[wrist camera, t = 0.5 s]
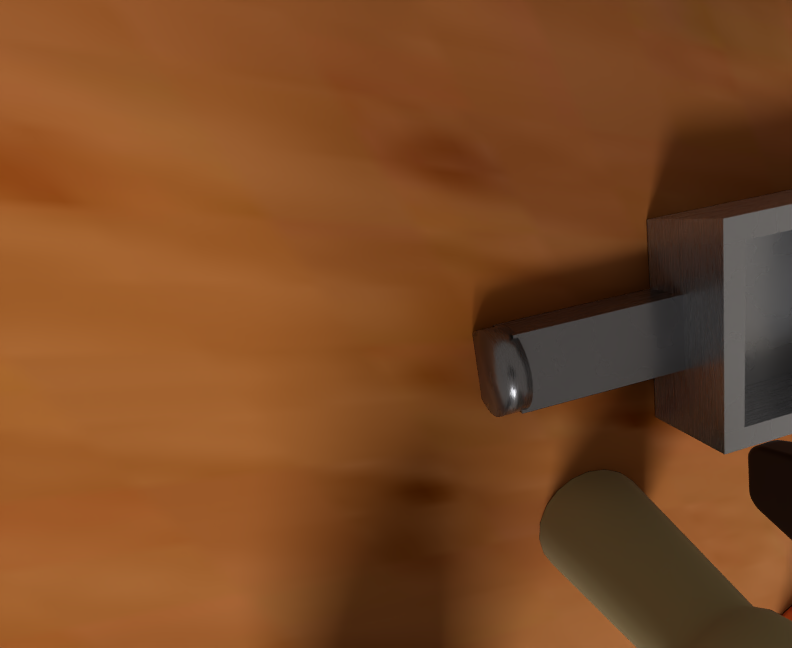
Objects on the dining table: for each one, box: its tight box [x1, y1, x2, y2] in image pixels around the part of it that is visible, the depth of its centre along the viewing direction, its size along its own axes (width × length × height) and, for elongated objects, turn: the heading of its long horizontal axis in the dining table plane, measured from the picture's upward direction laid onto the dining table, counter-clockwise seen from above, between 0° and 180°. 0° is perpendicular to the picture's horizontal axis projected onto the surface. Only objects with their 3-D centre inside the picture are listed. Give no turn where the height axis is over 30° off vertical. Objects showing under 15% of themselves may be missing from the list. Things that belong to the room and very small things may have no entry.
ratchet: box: [472, 189, 792, 454], centre depth 21 cm, size 10×19×5 cm, turn 100°
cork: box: [539, 470, 792, 648], centre depth 19 cm, size 6×6×11 cm
